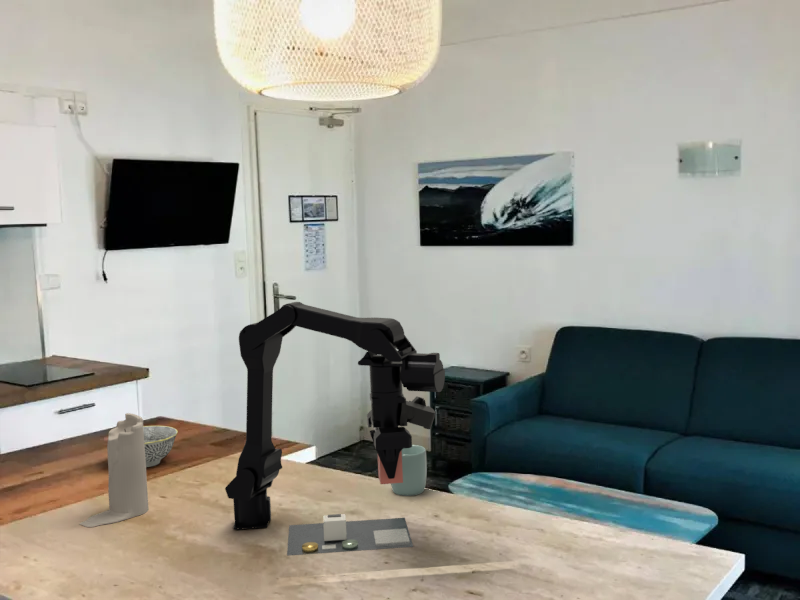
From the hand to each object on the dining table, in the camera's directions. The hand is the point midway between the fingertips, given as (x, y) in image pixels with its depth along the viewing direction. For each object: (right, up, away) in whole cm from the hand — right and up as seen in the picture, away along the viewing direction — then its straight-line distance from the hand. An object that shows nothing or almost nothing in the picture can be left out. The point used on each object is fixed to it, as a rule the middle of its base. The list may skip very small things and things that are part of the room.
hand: (390, 474), depth 150 cm
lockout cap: (0, -1, 0) cm, 1 cm away
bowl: (-61, -9, +54) cm, 82 cm away
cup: (+4, -10, +25) cm, 27 cm away
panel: (-7, -13, +2) cm, 15 cm away
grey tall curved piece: (-56, -13, +18) cm, 60 cm away
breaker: (-10, -11, 0) cm, 15 cm away
